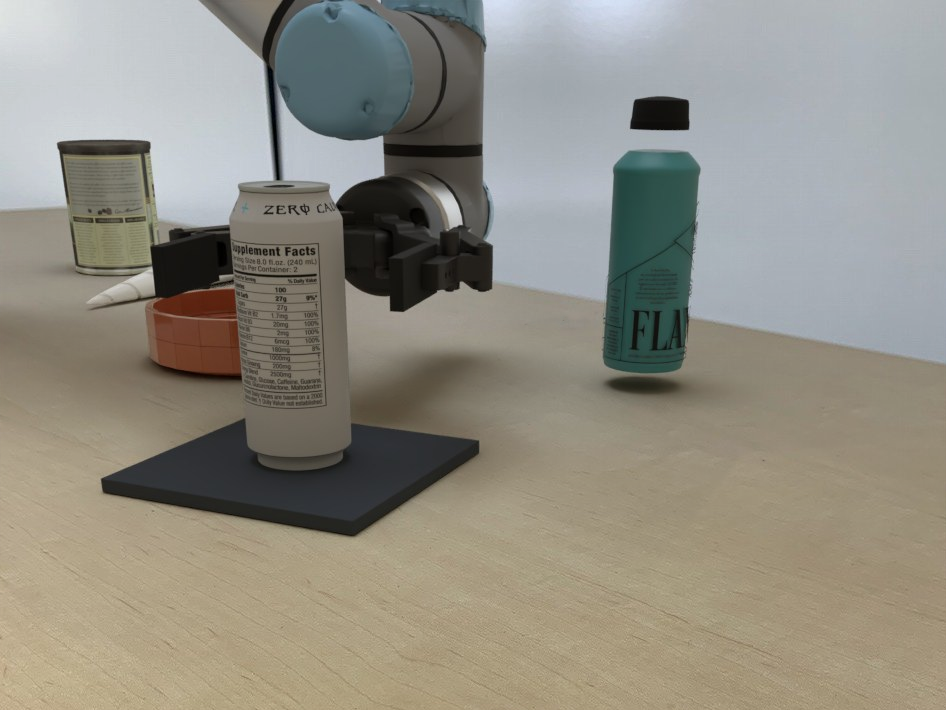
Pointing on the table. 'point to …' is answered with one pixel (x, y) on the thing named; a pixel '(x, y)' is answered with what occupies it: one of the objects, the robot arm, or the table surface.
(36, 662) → the table surface
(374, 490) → the mat
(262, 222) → the energy drink can
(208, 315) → the bowl
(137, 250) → the coffee can
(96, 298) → the unicorn horn
